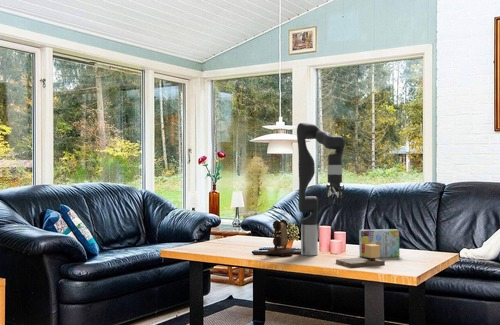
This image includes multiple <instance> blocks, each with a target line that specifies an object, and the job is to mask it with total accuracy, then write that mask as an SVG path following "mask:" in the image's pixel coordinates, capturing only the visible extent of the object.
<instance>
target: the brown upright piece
mask: <svg viewBox="0 0 500 325" xmlns="http://www.w3.org/2000/svg"><path fill="white" fill-rule="evenodd" d="M288 225H289V224H288V221H287V220H285V219H281V220H278V219H277V220H274V221H273V222H272V228H273V231H274V232H273V236H274V238H273V239H272V243H273V245H274V247H273V248H269V249H267V252H268V253H269V254H270V255H281V258H283V257H284V255H291V254H292V255H293V254H294V249H292V248H290V247H287V246H288V241H289V240H288V231H287V228H288V227H289V226H288ZM279 236H280V237H279ZM268 253H267V254H268Z"/></svg>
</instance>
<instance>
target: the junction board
mask: <svg viewBox="0 0 500 325" xmlns="http://www.w3.org/2000/svg"><path fill="white" fill-rule="evenodd" d="M385 262H386V261H385V260H382V259H379V258H369V257H366V256H360V257H351V258H341V259H340V258H339V259H338V258H337V259H335V264H337V265H340V266H342V267H343V266H344V267H348V268H350V269H351V268H364V267H376V266H385Z"/></svg>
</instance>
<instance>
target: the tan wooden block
mask: <svg viewBox="0 0 500 325" xmlns="http://www.w3.org/2000/svg"><path fill="white" fill-rule="evenodd" d="M365 256H366V257H369V258H375V259H378V258H381V257H380V245H376V244H366V245H365Z"/></svg>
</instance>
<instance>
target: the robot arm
mask: <svg viewBox="0 0 500 325" xmlns="http://www.w3.org/2000/svg"><path fill="white" fill-rule="evenodd" d="M296 140H297V149H298V150H297V151H298V163H297V164H298V201H297V202H298V205H297V206H298V210H299V211H298V212H300V213H310V214H309V215H308V216H305V218H302V219H301V221H300V223H301V228H300V232H301V236H300V255H302V256H317V255H319V253H318V250H319V249H318V246H319V244H318V239H319V238H318V236H319V235H318V215H319V199H318V197H317V196H313V195H308V196H307V195H306V192H307V191H306V190H307V188H308V185H309V184H310V183H311V181H312V179H313V177H314V176H315V172H316V169H315V168H316V167H315V166H316V165H315V160H314V157H313V156H312V154H311V153H310V151H309V150H308V146H307V144H306V143H307V142H306V140H316V142H317V143H319V144H321V145H323V146H324V147H325V149H328V150H334V152H333V153H329V154H328V156H327V183H329V184H326V185H325V196H327V197H328V205H333V204H334V195H336V205H337V206H341V205H342V202H343V201H342V200H343V199H342V198H343V197H345V185H344V184H341V183H343V169H342V168H343V166H342V156H343V153H344V149H345V146H346V142H345V138H344V137H343V136H342V135H333V134H331V133H330V132H327V131H325V130H323V129H321V128H320V127H318V125H316V124H315V123H312V122H311V123H310V122H309V123H308V122H307V123H306V122H301V123H298V124H297V127H296Z"/></svg>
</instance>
